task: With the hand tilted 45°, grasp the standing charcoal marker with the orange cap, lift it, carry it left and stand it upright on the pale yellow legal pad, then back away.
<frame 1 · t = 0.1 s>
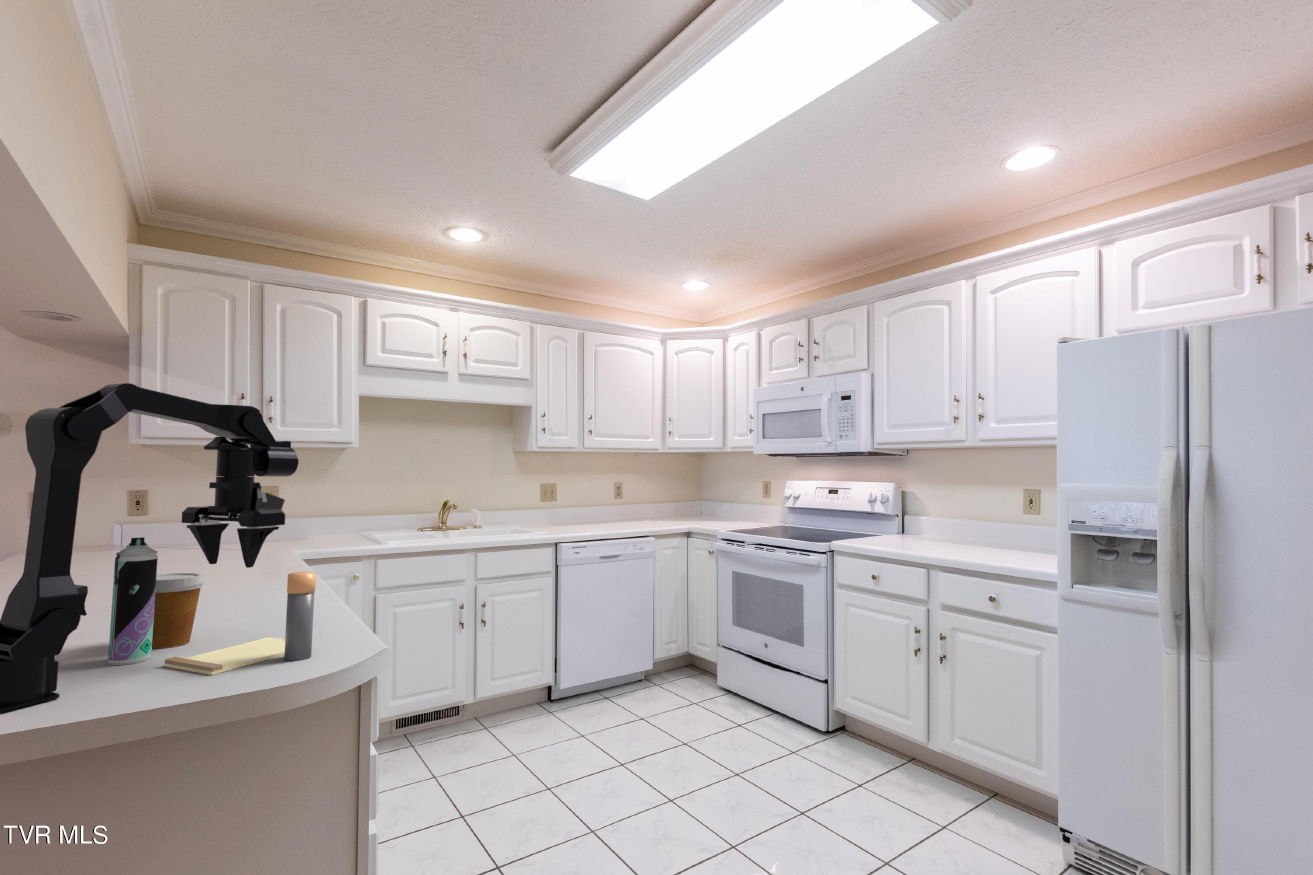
hand: (231, 565, 112), 15 cm above the counter, tool pointing down, fingers open, 9 cm apart
disposable coffee cup: (168, 645, 114), on the counter
marker: (297, 657, 107), on the counter
legal pad: (243, 655, 108), on the counter
spray can: (129, 661, 104), on the counter
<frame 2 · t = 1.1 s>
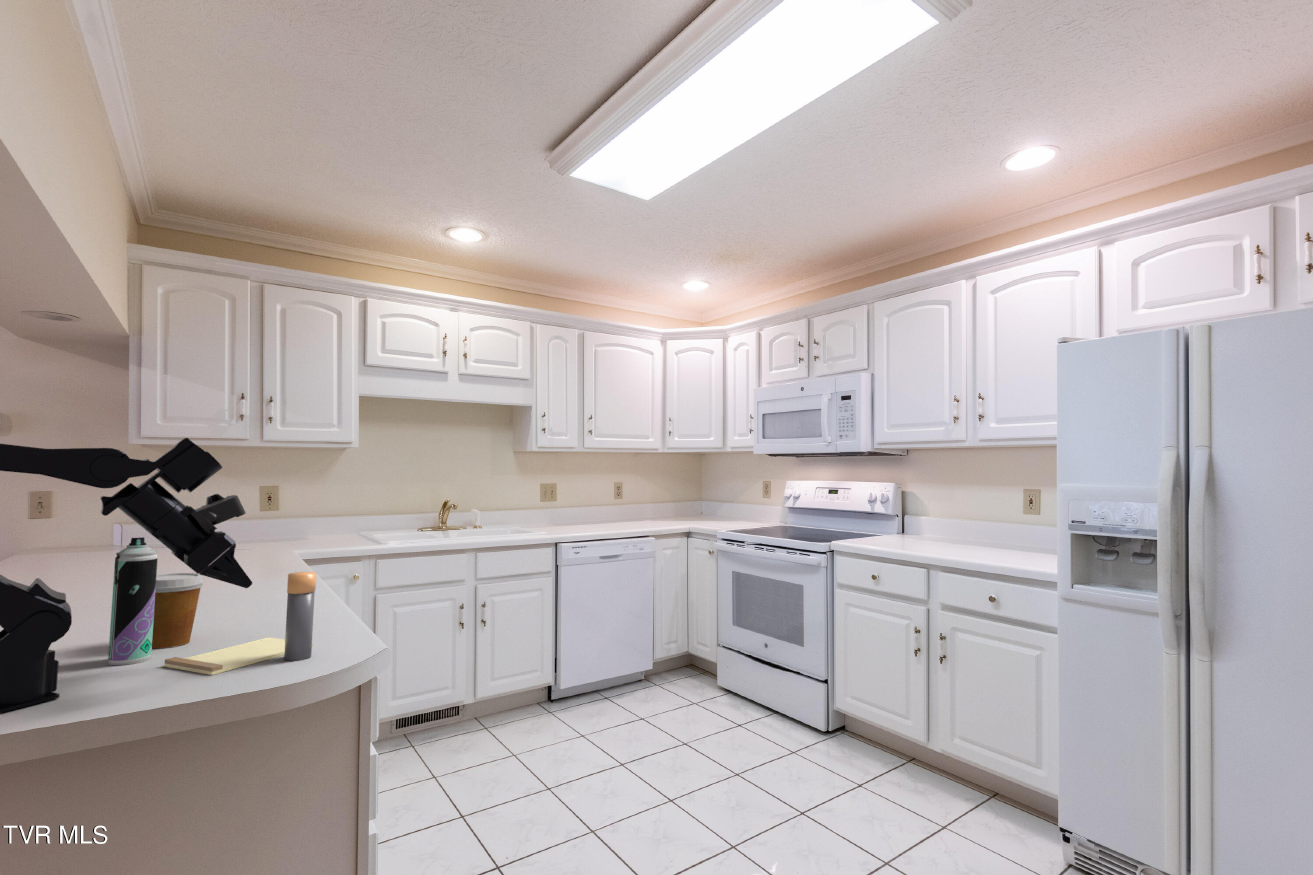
hand: (243, 581, 102), 13 cm above the counter, tool tilted 45°, fingers open, 9 cm apart
nothing on the counter moved.
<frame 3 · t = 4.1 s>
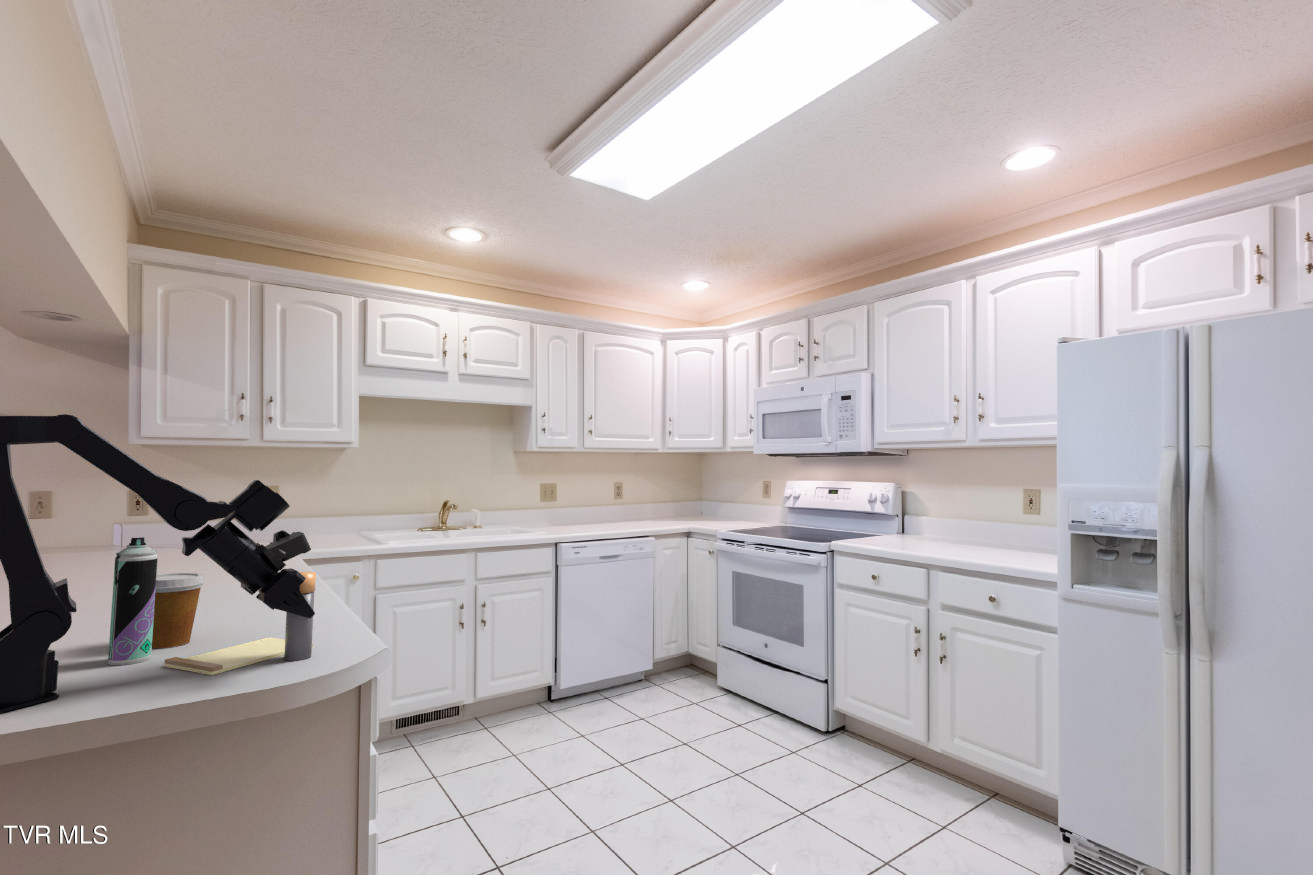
hand: (309, 613, 109), 7 cm above the counter, tool tilted 45°, fingers closed on marker, 4 cm apart
marker: (297, 657, 107), on the counter, touching gripper
everything else where it was.
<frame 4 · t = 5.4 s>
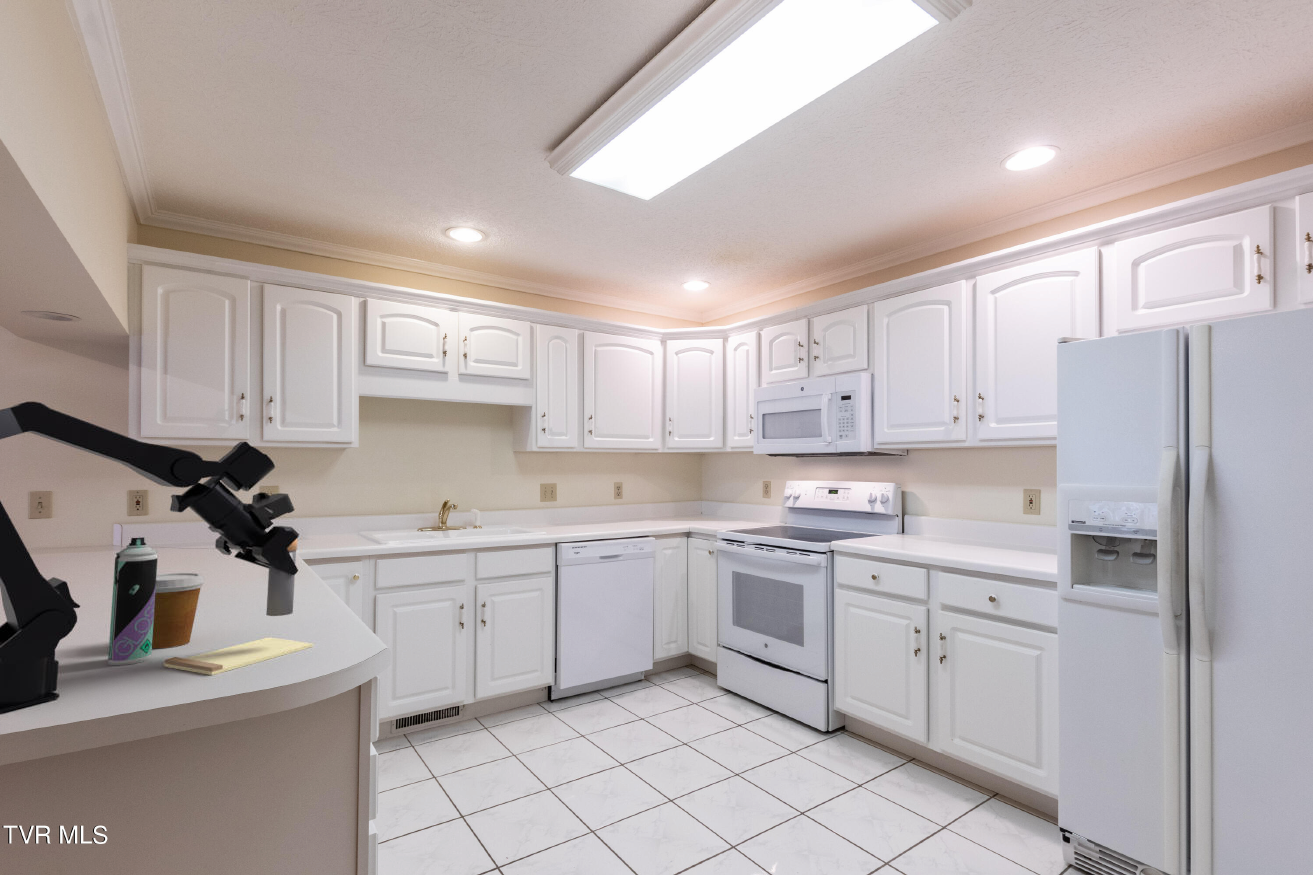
hand: (289, 571, 113), 13 cm above the counter, tool tilted 45°, fingers closed on marker, 4 cm apart
marker: (279, 613, 112), point 6 cm above the counter, touching gripper
everything else where it was.
when the fingers open (9 cm above the counter, at t = 7.0 s): marker stays where it is, resting on legal pad.
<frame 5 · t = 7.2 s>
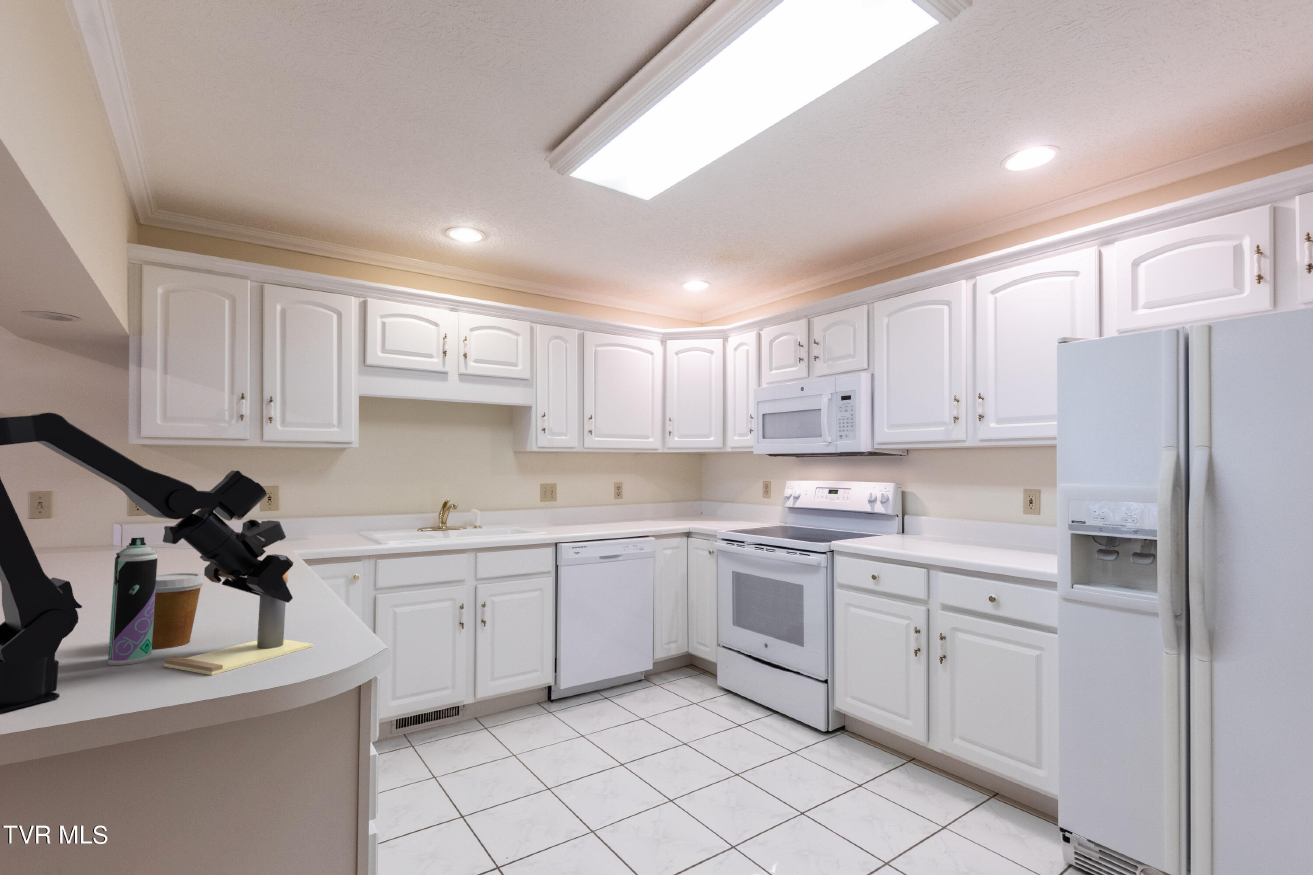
hand: (280, 598, 114), 9 cm above the counter, tool tilted 45°, fingers open, 6 cm apart
marker: (270, 645, 112), point 1 cm above the counter, touching legal pad
everything else where it was.
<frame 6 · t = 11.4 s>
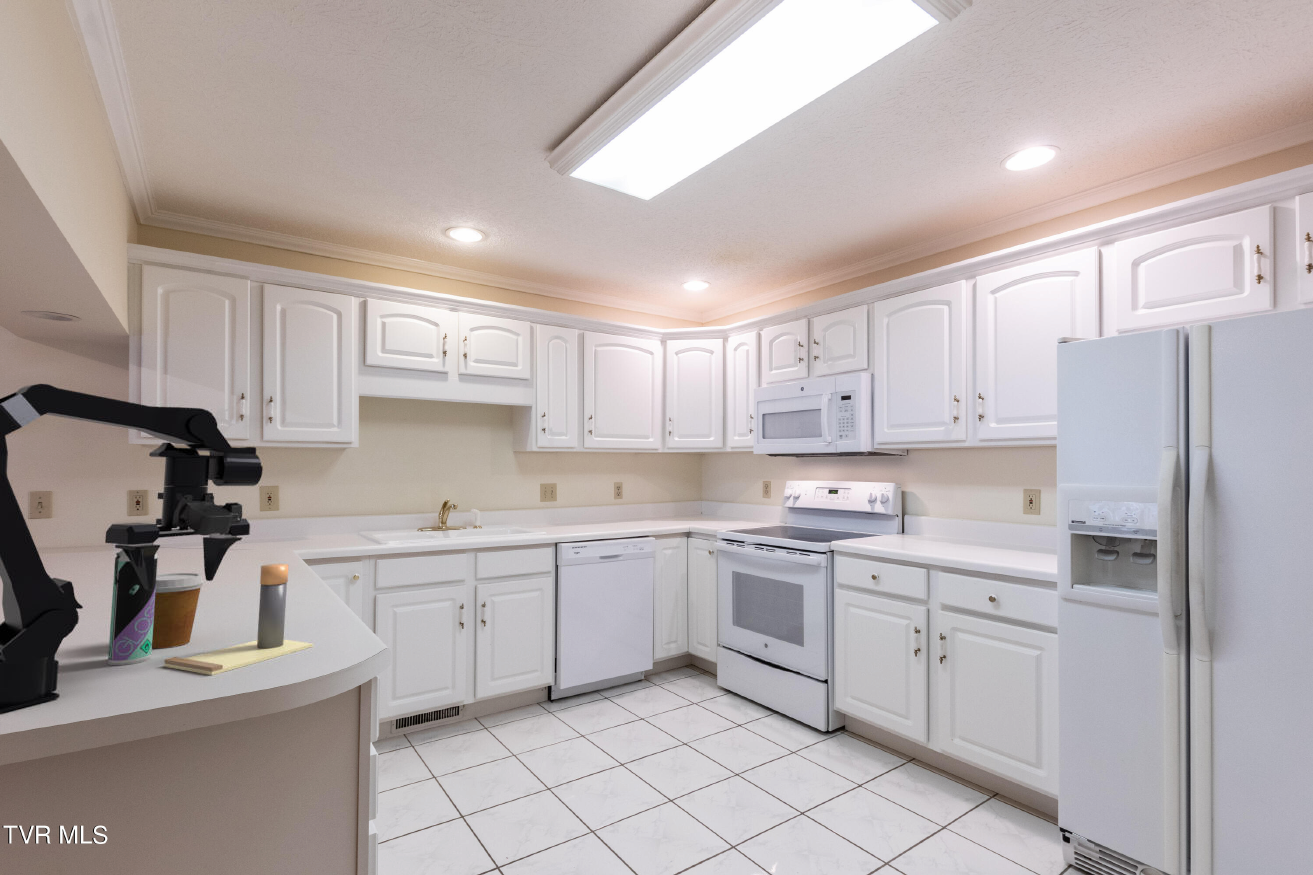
hand: (180, 584, 101), 13 cm above the counter, tool pointing down, fingers open, 9 cm apart
nothing on the counter moved.
at the end: marker inside the target area (0.0 cm from its centre), point 0.5 cm above the counter; marker tilted 0°; the gripper is holding nothing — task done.
